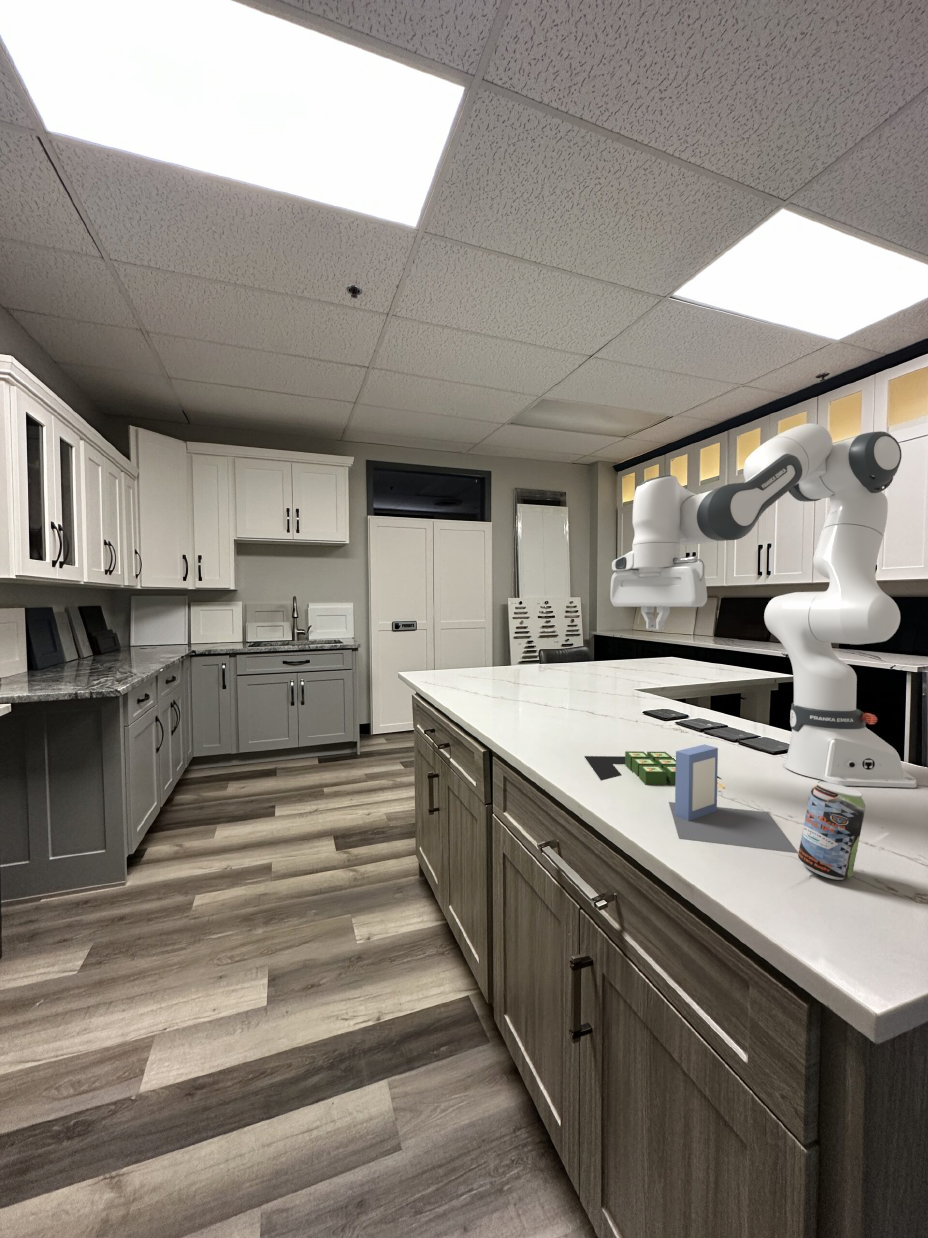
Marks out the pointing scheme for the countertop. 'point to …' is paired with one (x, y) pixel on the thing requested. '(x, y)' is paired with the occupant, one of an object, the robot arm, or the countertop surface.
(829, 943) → the countertop surface
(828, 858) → the beverage can
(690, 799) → the card deck
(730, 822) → the rubber mat
